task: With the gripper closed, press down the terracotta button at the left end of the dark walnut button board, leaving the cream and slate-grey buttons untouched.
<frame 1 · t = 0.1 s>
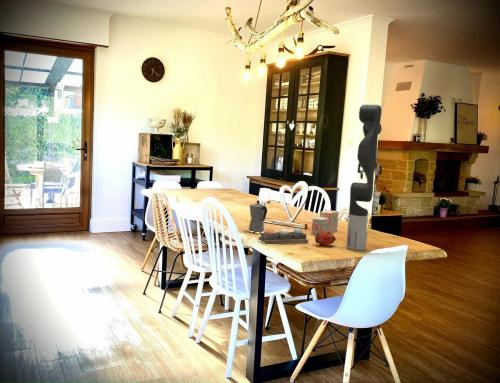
hand: (369, 179, 284), 31 cm above the table, tool tilted 20°, fingers open, 8 cm apart
terracotta button: (269, 232, 236), point 5 cm above the table, slide at 0.0 cm
dragon fruit: (324, 246, 236), on the table
button board: (283, 242, 239), on the table
stack of blocks: (324, 233, 272), on the table
coffeepot: (257, 232, 261), on the table
slate button: (297, 232, 242), point 5 cm above the table, slide at 0.0 cm
cream button: (283, 232, 239), point 5 cm above the table, slide at 0.0 cm
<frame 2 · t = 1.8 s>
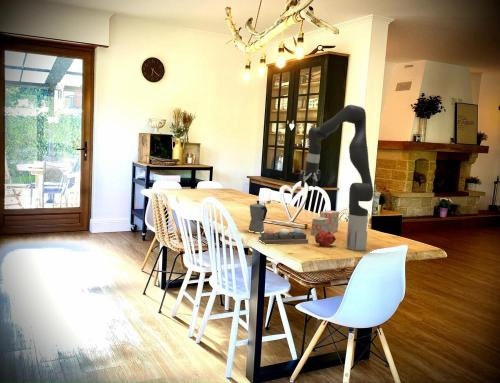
hand: (308, 187, 278), 25 cm above the table, tool pointing down, fingers open, 8 cm apart
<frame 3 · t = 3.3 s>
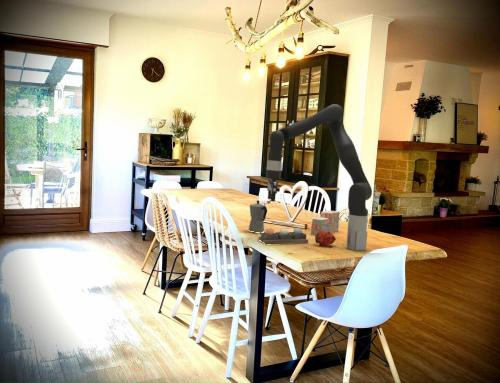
hand: (271, 200, 242), 21 cm above the table, tool pointing down, fingers open, 8 cm apart
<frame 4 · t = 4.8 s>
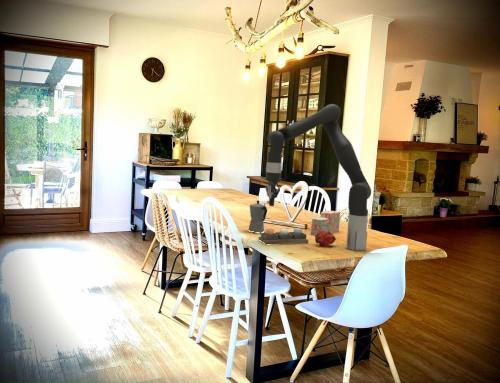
hand: (271, 205, 234), 19 cm above the table, tool pointing down, fingers closed
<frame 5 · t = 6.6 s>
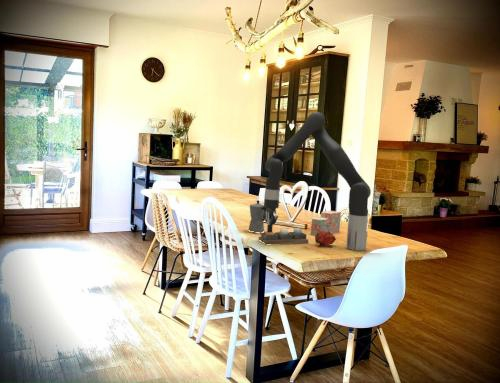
hand: (269, 231, 236), 5 cm above the table, tool pointing down, fingers closed
terracotta button: (269, 234, 236), point 4 cm above the table, slide at 1.2 cm, touching gripper
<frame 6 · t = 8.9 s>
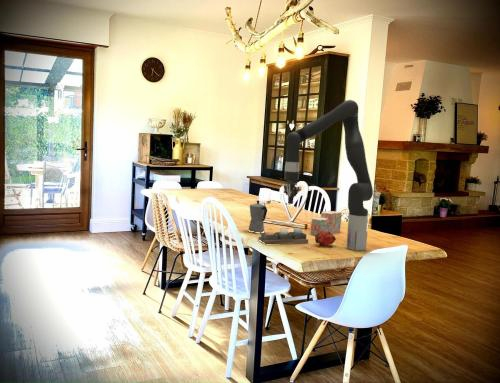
hand: (290, 203, 243), 19 cm above the table, tool pointing down, fingers closed
terracotta button: (269, 235, 236), point 4 cm above the table, slide at 1.6 cm
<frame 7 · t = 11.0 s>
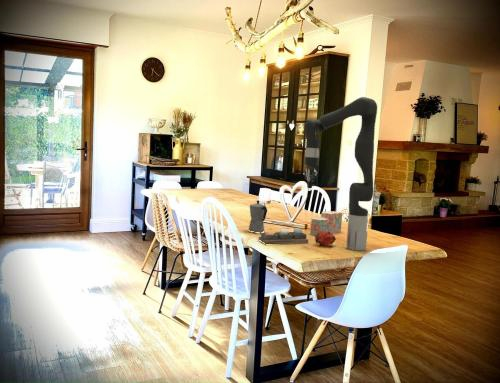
hand: (309, 188, 254), 27 cm above the table, tool pointing down, fingers closed
at the end: terracotta button slide at 1.6 cm; cream button slide at 0.0 cm; slate button slide at 0.0 cm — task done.
